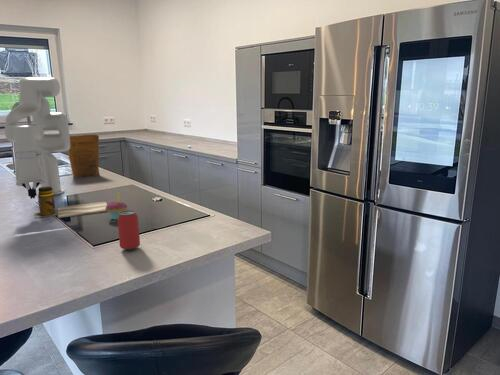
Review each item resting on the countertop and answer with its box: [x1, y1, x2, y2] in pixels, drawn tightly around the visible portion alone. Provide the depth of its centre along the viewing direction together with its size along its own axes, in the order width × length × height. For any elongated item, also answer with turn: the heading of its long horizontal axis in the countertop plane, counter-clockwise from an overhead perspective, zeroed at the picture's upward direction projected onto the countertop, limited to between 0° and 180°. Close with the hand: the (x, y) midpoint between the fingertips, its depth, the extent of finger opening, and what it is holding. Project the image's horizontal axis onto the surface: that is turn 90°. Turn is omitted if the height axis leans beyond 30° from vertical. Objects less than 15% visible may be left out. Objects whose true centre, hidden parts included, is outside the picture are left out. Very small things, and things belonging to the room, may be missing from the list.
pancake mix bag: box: [67, 134, 101, 178], centre depth 243 cm, size 7×19×28 cm, turn 113°
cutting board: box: [57, 201, 108, 219], centre depth 173 cm, size 16×21×1 cm
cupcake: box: [106, 191, 128, 221], centre depth 160 cm, size 9×8×12 cm
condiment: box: [34, 187, 58, 219], centre depth 166 cm, size 7×8×12 cm
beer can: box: [117, 209, 141, 250], centre depth 128 cm, size 7×7×12 cm
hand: (32, 197), depth 163 cm, fingers closed
